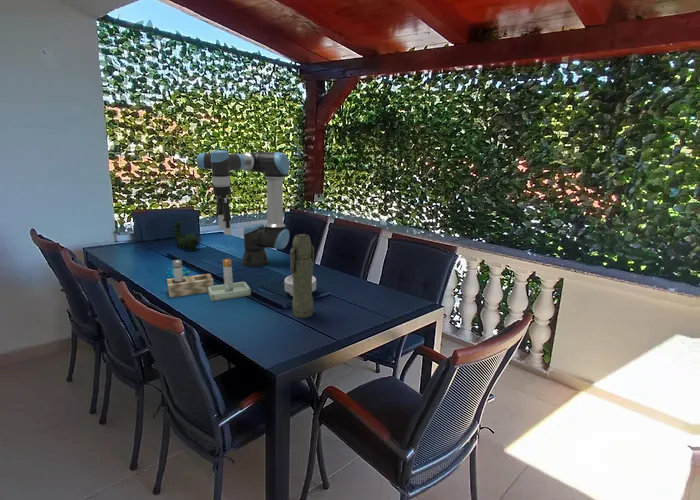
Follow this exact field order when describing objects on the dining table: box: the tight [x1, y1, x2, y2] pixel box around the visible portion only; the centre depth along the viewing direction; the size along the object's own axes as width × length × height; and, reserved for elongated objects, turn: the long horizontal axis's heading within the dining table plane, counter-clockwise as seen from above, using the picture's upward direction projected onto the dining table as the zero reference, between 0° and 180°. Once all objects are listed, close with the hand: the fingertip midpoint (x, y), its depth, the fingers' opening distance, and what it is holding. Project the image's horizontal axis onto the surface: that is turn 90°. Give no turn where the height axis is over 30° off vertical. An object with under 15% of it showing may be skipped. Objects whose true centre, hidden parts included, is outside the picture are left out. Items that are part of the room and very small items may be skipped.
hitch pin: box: [222, 258, 234, 292], centre depth 200 cm, size 4×4×16 cm
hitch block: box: [166, 273, 215, 298], centre depth 204 cm, size 20×10×6 cm, turn 117°
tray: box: [207, 281, 252, 302], centre depth 202 cm, size 18×12×3 cm, turn 117°
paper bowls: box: [283, 274, 317, 297], centre depth 202 cm, size 15×15×8 cm
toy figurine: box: [172, 220, 200, 252], centre depth 274 cm, size 9×19×25 cm
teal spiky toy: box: [165, 264, 190, 279], centre depth 221 cm, size 11×6×10 cm
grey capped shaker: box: [172, 259, 184, 283], centre depth 201 cm, size 4×4×16 cm
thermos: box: [289, 233, 315, 319], centre depth 177 cm, size 9×12×35 cm
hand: (224, 231), depth 195 cm, fingers open, 13 cm apart
